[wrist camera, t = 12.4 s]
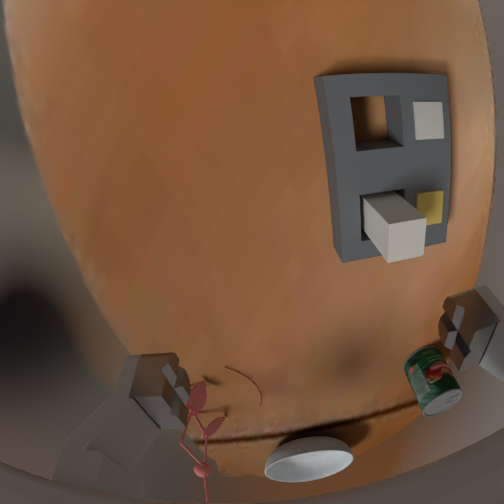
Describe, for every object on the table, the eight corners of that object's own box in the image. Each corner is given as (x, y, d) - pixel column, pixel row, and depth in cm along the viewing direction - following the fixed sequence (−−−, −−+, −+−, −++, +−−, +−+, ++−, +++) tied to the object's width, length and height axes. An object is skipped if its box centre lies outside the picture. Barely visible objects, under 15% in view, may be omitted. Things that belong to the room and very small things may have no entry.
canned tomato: (402, 378, 52) (420, 422, 43) (403, 354, 49) (425, 401, 39) (436, 364, 51) (457, 405, 42) (441, 339, 48) (466, 383, 38)
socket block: (313, 77, 28) (323, 75, 24) (427, 74, 27) (447, 75, 23) (333, 246, 38) (343, 264, 34) (430, 228, 37) (446, 243, 33)
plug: (353, 188, 34) (388, 224, 25) (384, 183, 34) (426, 217, 25) (355, 219, 36) (387, 262, 27) (385, 214, 36) (423, 255, 27)
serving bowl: (354, 445, 67) (359, 467, 61) (281, 465, 71) (282, 486, 65) (338, 415, 58) (344, 442, 52) (248, 440, 62) (249, 465, 56)
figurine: (200, 432, 59) (196, 578, 29) (158, 357, 47) (126, 572, 16) (271, 426, 59) (286, 577, 28) (253, 347, 46) (271, 583, 16)
